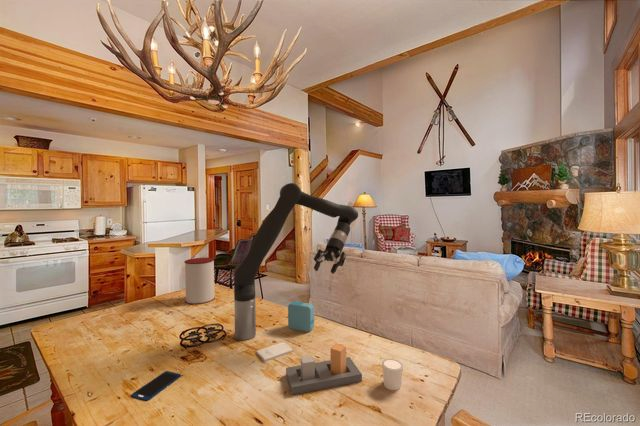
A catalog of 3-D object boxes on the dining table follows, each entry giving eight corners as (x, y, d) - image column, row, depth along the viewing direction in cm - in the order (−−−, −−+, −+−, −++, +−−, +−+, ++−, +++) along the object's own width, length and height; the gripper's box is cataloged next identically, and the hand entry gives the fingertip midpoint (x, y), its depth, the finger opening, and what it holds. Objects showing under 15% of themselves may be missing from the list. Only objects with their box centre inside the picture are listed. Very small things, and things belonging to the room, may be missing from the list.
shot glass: (379, 378, 97) (379, 358, 97) (398, 377, 97) (398, 357, 97) (385, 392, 90) (385, 370, 90) (406, 390, 91) (406, 369, 90)
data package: (314, 328, 136) (314, 304, 135) (310, 332, 132) (310, 307, 131) (292, 324, 141) (292, 300, 140) (287, 328, 136) (287, 303, 136)
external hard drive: (292, 353, 115) (264, 363, 107) (283, 345, 121) (256, 354, 114) (292, 349, 115) (264, 359, 107) (283, 341, 121) (256, 350, 114)
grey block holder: (291, 395, 89) (291, 371, 89) (286, 374, 99) (285, 353, 99) (361, 381, 96) (361, 359, 95) (349, 363, 106) (349, 343, 106)
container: (178, 303, 170) (177, 262, 169) (196, 294, 187) (195, 257, 186) (205, 305, 167) (204, 263, 166) (220, 295, 184) (219, 257, 183)
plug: (336, 370, 102) (336, 343, 101) (346, 374, 100) (346, 346, 99) (330, 376, 98) (330, 348, 98) (340, 380, 96) (340, 351, 96)
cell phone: (129, 397, 88) (129, 395, 88) (166, 372, 102) (166, 370, 102) (147, 403, 86) (147, 400, 86) (182, 376, 99) (182, 374, 99)
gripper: (321, 236, 133) (306, 264, 124) (347, 238, 126) (334, 268, 116) (327, 245, 138) (313, 273, 129) (353, 248, 130) (340, 278, 121)
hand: (323, 271), depth 123 cm, fingers open, 8 cm apart
